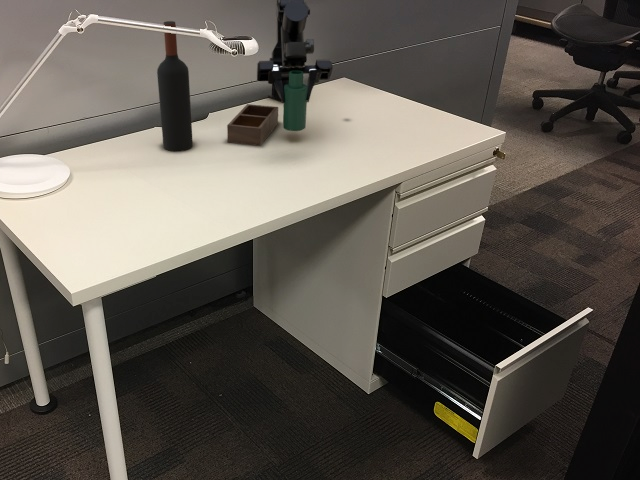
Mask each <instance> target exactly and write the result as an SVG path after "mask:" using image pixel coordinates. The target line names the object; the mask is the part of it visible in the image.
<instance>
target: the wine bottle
mask: <svg viewBox="0 0 640 480" xmlns="http://www.w3.org/2000/svg"><path fill="white" fill-rule="evenodd" d="M163 25H165V26H171V27H176V28H177V25H176V21H173V20H168V21H164V22H163ZM163 35H164V48H165V58H164V59H163V60H162V61H161V63H160V64H159V65H158V67H157V70H156V76H157V88H158V98H159V99H158V101H159V111H160V123H161V124H160V125H161V133H162V134H161V135H162V136H161V137H162V146H163V149H164V150H166V151H168V152H173V153H174V152H184V151H188V150H191V149H192V148H193V145H194V143H193V142H194V141H193V125H192V124H193V123H192V108H191V107H192V105H191V91H190V89H191V88H190V72H189V67H188V65H187V64H186V63H185V62H184V61H183V60H182V59H180V58H179V54H178V42H177V40H178V39H177V33H176V34H171V33H164V32H163Z"/></svg>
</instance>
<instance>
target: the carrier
mask: <svg viewBox="0 0 640 480" xmlns="http://www.w3.org/2000/svg"><path fill="white" fill-rule="evenodd" d="M278 124H279V107H278V106H272V105H262V104H261V105H260V104H252V103H250V104H249V103H247V104H245V106H243V108H241V110H240V111H239V112H238V113H237V114H236V115H235V116H234V117H233V118H232V119H231V120H230V122H229V123H227V125H226V130H227V134H226V135H227V143H232V144H239V145H240V144H241V145H250V146H259V147H261V146H262V144H263V143H264V142H265V141H266V139H267V138H268V137H269V135H270V134H271V133H272V132H273V131H274V129H275V128H276V127H277V125H278Z"/></svg>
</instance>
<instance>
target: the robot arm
mask: <svg viewBox="0 0 640 480" xmlns="http://www.w3.org/2000/svg"><path fill="white" fill-rule="evenodd" d="M275 1H276V2H275V17H276V43H275V45H274V46H273V49H272V51H271V57H269V60H259V61H257V63H256V81H257V82H267V83H268V84H269V85H271V94H268V95H267V98H269V99H272V100H275V101H278V102H280V103H282V104H284V86H285V85H286V84H289V72H290V71H293V70H299V71H303V75H305V74H308V78H307V84H306V85H307V103H309V102H310V98H311V95H312V92H313V89H314V86H315V84H318V83H320V81H328V80H330V79H331V75H332V72H333V69H334V68H333V65H334V64H333V61H332V60H331V59H330V58H329V59H328V58H327V59H326V58H325V59H323V58H322V59H316V60H315V64H311V65H309V64H308V65H306V63H307V61H308V57H307V55H313V54H314V53H315V39H314V38H313V39H312V38H306V39H305V35H304V33H305V29H306V24H307V19H308V18H309V16H310V15H311V8H310V7H309V5H308V4H307V2H306V1H305V0H275Z"/></svg>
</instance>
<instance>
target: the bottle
mask: <svg viewBox="0 0 640 480" xmlns="http://www.w3.org/2000/svg"><path fill="white" fill-rule="evenodd" d="M307 104H308V102H307V84H305V83H304V74H303V71H299V70H293V71H290V72H289V84H286V85H285V86H284V103H283V111H282V114H283V115H282V128H283V129H284V130H285V131H289V132H300V131H304V130H305V129H306V127H307V108H308V107H307Z"/></svg>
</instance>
